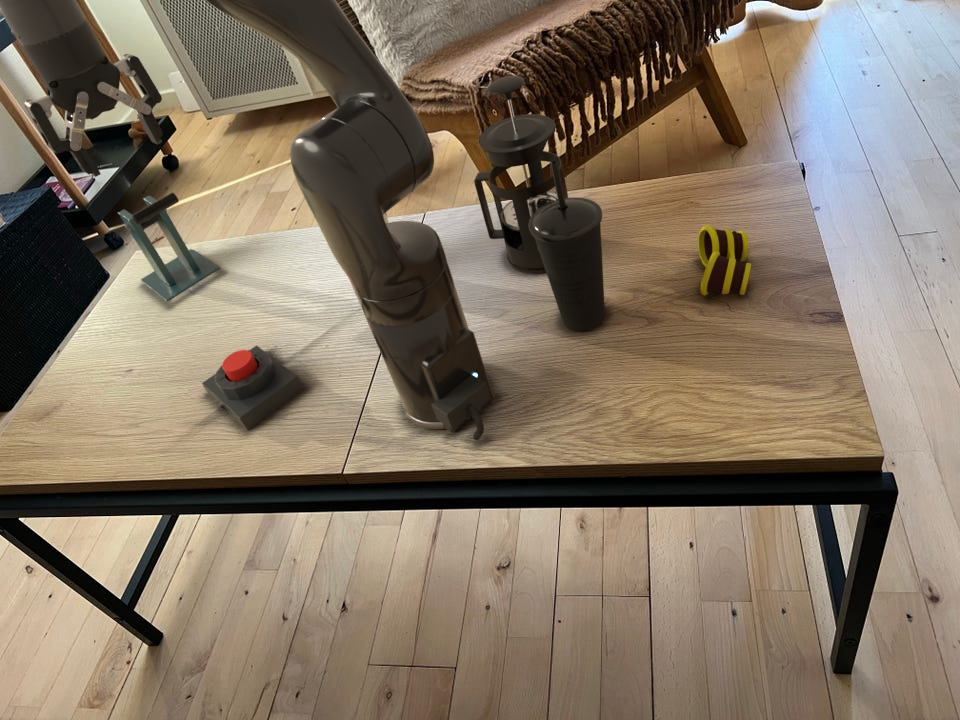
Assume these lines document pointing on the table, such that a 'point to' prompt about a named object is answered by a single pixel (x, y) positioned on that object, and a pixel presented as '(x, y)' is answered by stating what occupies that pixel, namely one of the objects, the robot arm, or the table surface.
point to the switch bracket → (178, 271)
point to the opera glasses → (723, 260)
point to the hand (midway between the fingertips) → (127, 158)
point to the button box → (254, 390)
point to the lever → (154, 211)
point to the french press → (515, 147)
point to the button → (239, 365)
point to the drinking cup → (572, 256)
